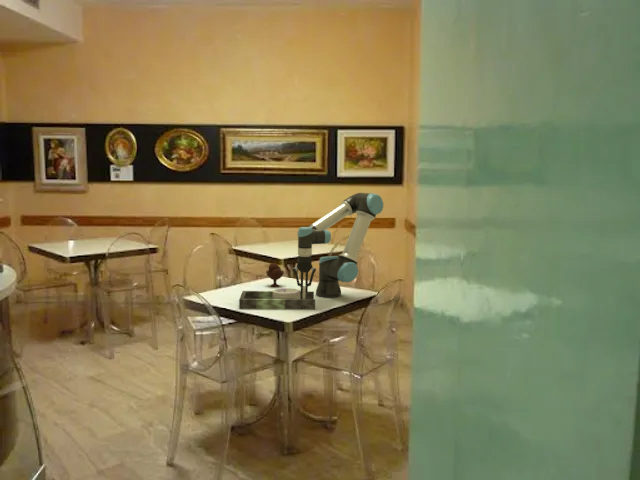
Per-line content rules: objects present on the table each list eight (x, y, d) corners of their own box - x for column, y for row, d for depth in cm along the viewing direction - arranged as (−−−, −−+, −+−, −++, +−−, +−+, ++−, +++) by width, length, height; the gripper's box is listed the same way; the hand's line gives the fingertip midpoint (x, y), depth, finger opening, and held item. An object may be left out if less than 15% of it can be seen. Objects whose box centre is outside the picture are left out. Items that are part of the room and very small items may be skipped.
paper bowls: (282, 300, 324) (282, 286, 323) (305, 303, 317) (305, 289, 316) (266, 305, 311) (267, 290, 310) (290, 309, 304) (290, 294, 303)
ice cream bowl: (283, 288, 358) (283, 264, 356) (265, 287, 358) (265, 263, 356) (284, 284, 369) (284, 261, 367) (266, 284, 369) (267, 261, 367)
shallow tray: (313, 300, 326) (313, 291, 325) (315, 309, 304) (315, 300, 304) (242, 299, 324) (242, 290, 323) (239, 308, 302) (239, 299, 302)
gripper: (292, 256, 307) (292, 299, 310) (317, 256, 308) (316, 300, 311) (292, 254, 315) (291, 296, 318) (316, 254, 316) (315, 297, 318)
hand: (303, 298), depth 314 cm, fingers closed
